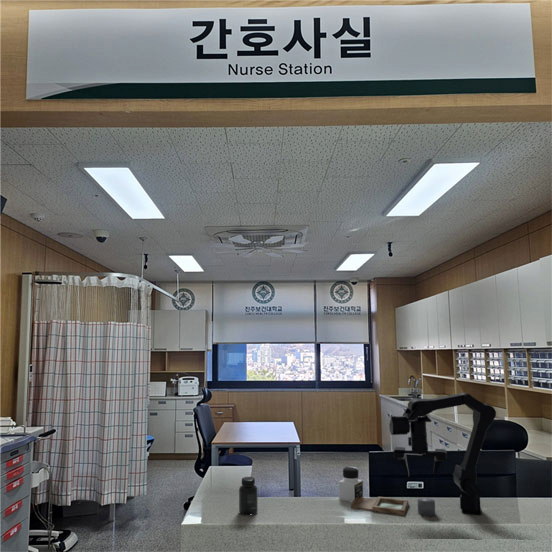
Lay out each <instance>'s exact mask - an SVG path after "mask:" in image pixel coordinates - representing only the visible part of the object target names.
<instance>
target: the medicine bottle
mask: <svg viewBox="0 0 552 552" xmlns="http://www.w3.org/2000/svg"><path fill="white" fill-rule="evenodd" d="M342 478H343V479H341V480H339V481H338V499H339V500H341V501H346V502H351V503H352V502H353V500H354V499H355V498H356V497H358V496H359V498H361V497H364V481H363V479H359V469H358V468H357V467H356V466H355V467H354V466H345V467H344V468H343V469H342Z"/></svg>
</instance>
